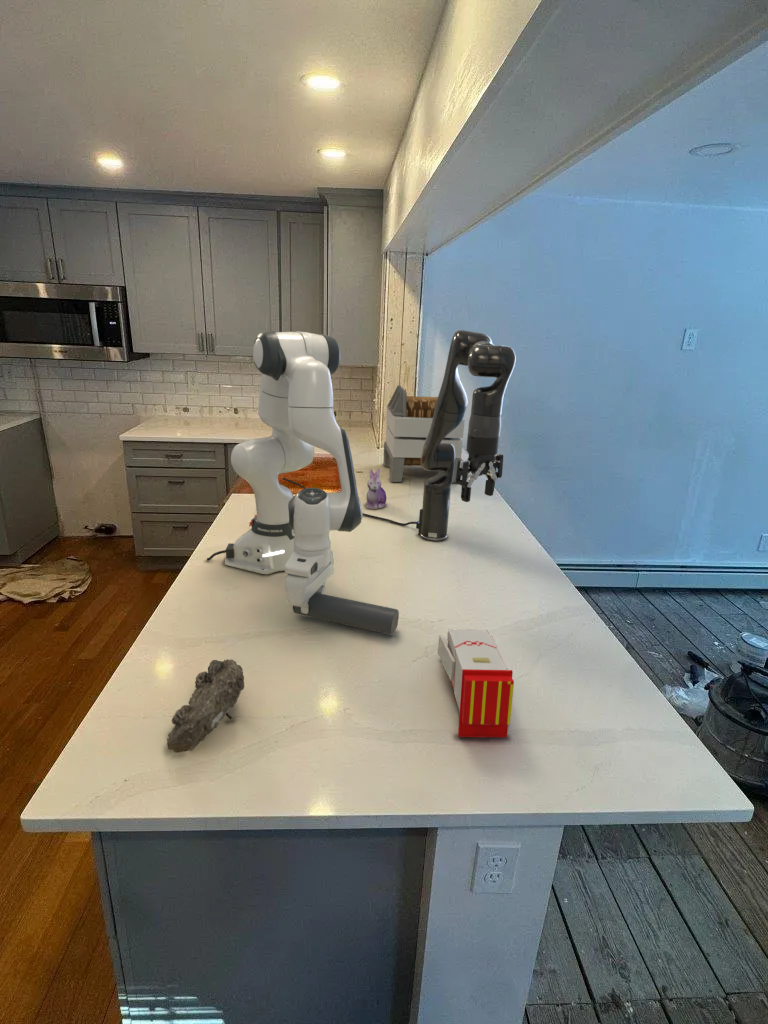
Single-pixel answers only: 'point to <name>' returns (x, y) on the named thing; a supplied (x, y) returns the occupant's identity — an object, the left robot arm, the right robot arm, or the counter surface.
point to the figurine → (375, 491)
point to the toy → (478, 682)
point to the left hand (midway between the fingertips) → (312, 605)
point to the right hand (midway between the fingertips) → (477, 498)
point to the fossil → (206, 705)
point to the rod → (352, 613)
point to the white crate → (412, 432)
